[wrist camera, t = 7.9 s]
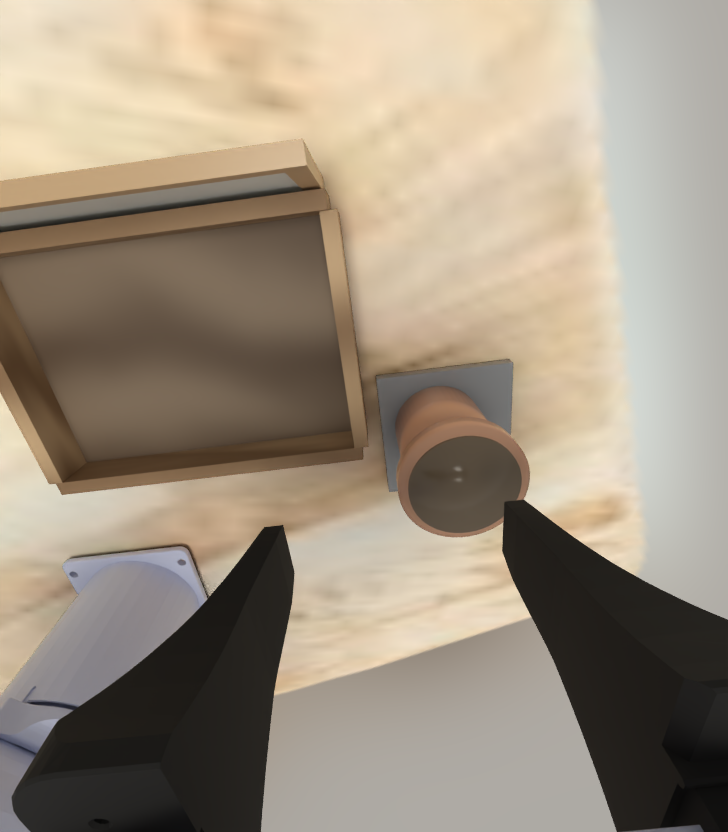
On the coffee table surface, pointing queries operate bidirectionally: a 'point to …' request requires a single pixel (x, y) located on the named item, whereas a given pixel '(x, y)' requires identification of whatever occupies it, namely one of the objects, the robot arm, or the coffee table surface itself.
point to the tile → (477, 380)
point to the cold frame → (182, 343)
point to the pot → (455, 464)
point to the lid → (158, 185)
